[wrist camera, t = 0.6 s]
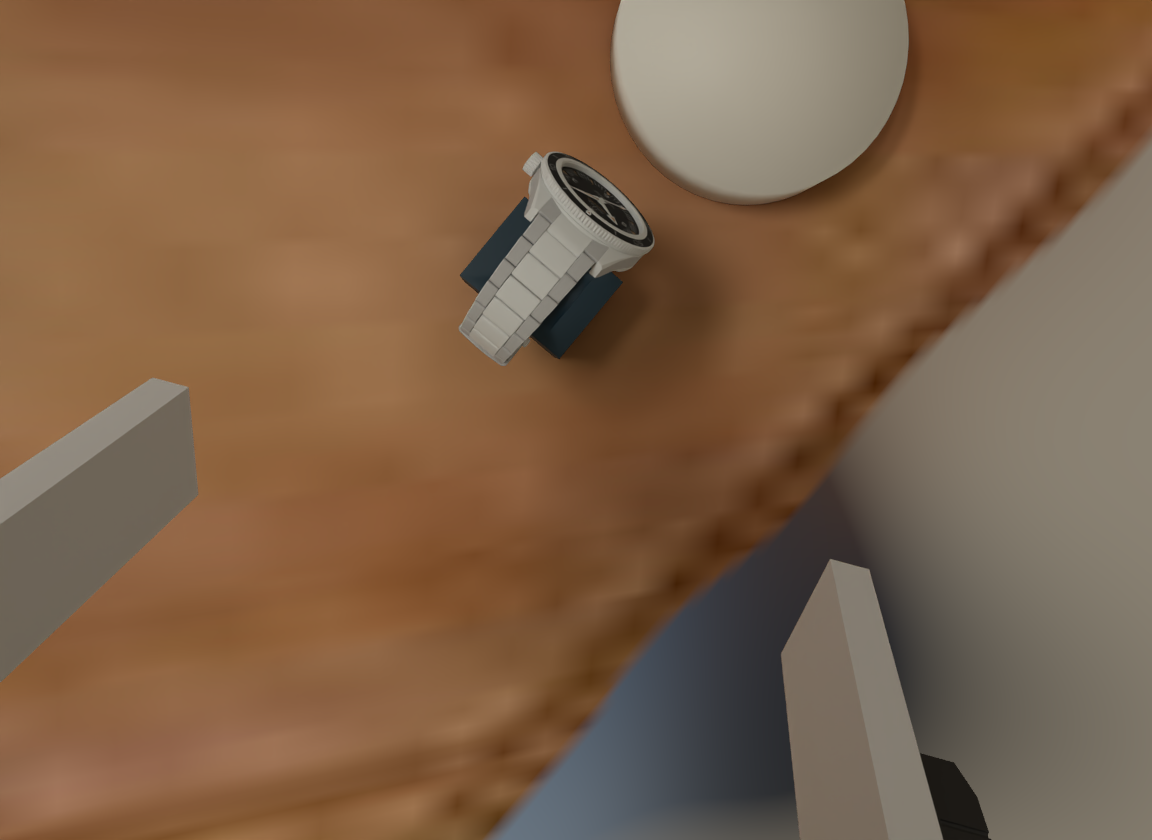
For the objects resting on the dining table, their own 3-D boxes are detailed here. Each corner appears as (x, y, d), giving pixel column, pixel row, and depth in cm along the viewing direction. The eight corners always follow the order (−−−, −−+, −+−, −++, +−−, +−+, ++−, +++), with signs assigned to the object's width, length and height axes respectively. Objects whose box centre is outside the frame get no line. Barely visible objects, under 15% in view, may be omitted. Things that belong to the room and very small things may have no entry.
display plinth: (607, -89, 33) (614, -125, 30) (883, -81, 34) (912, -115, 31) (612, 206, 34) (620, 195, 32) (877, 204, 35) (905, 193, 33)
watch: (639, 256, 34) (698, 213, 24) (531, 386, 35) (540, 404, 24) (548, 176, 34) (566, 94, 23) (438, 309, 34) (404, 291, 23)
